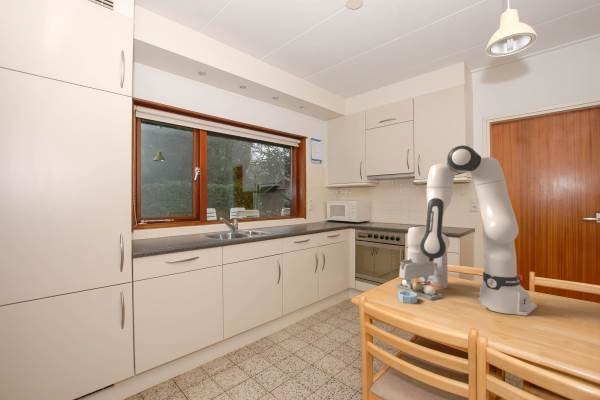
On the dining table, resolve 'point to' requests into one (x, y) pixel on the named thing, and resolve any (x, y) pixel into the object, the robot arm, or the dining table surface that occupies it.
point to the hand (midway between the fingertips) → (417, 286)
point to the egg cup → (407, 297)
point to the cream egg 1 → (406, 283)
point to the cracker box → (438, 273)
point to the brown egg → (418, 286)
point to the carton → (421, 293)
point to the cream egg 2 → (429, 290)
